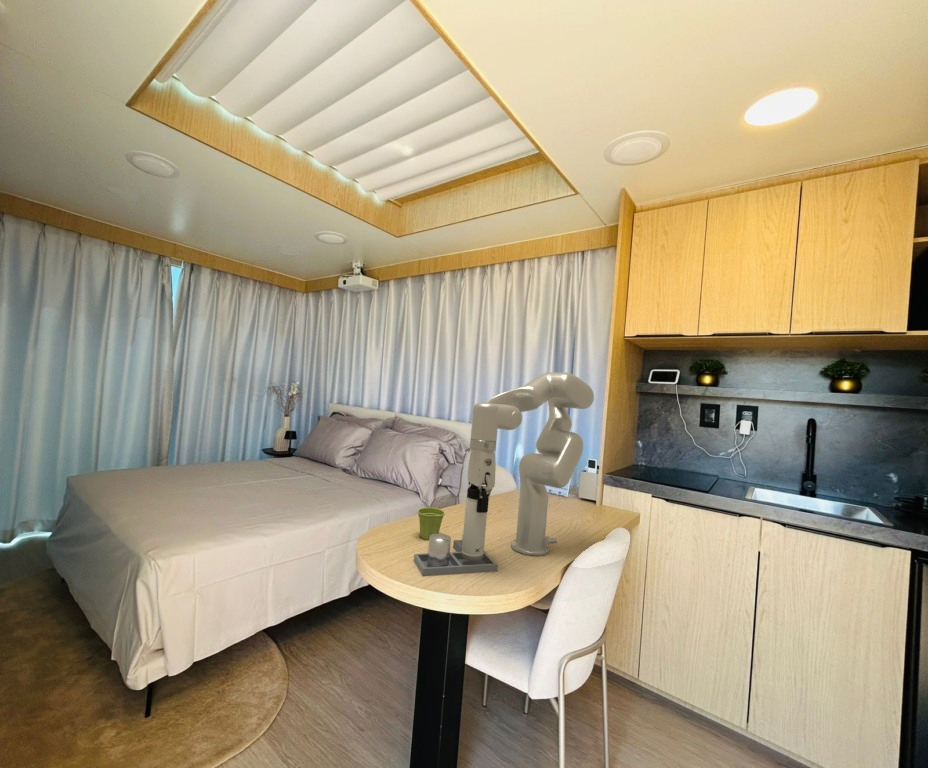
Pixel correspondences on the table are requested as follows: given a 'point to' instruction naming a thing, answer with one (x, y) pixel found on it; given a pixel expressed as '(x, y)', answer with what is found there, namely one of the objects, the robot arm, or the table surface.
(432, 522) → the plant pot
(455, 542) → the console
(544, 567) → the table surface
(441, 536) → the steel stub
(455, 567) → the divided tray
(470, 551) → the travel mug
